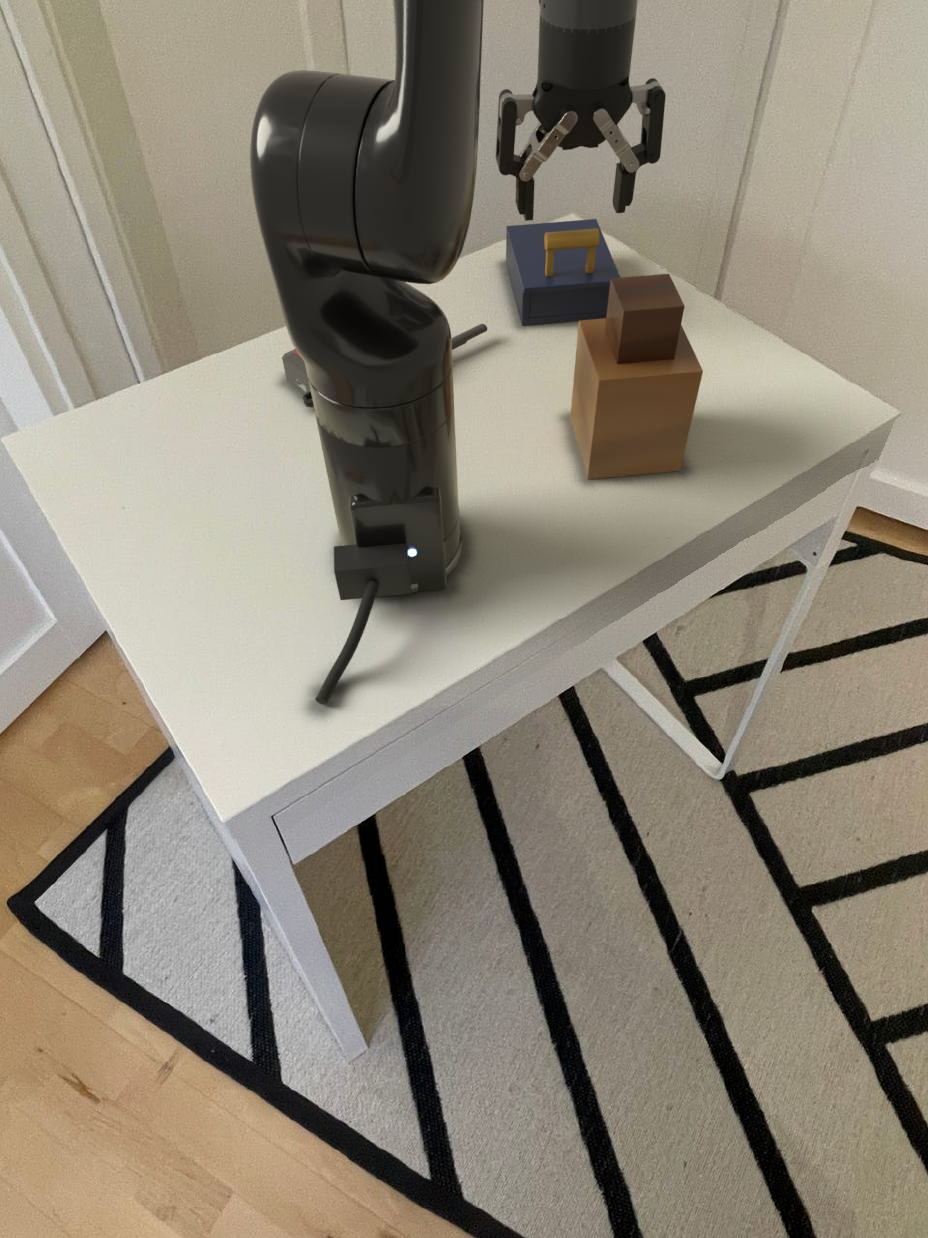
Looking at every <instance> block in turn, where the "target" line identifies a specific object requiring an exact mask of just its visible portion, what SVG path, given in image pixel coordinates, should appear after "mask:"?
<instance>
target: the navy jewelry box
mask: <svg viewBox="0 0 928 1238" xmlns="http://www.w3.org/2000/svg"><path fill="white" fill-rule="evenodd" d="M505 236H506V239H505V244H506V245H505V267H506V271H507V275H508V278H509V283H510V286H511V290H512V293H513V297H514V302H515V305H516V309H517V313H518V316H519V320H520V324H521V326H532V325H544V324H555V323H567V322H568V323H569V322H579V321H581V320H593V319H604V318H606V316H607V307H608V298H609V290H610V287H598V288H586V289H574V290H562V291H550V292H538V293H526V294H524V293H523V289H522V286H521V282H520V278H519V275H518V271H517V268H516V264H515V260H514V257H513V253H512V249H511V246H510V242H509V239H508V235H507V232H506V235H505Z"/></svg>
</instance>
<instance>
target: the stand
mask: <svg viewBox="0 0 928 1238" xmlns="http://www.w3.org/2000/svg"><path fill="white" fill-rule="evenodd" d="M605 324H606V318H603V319H591V320H579V321H578V326H577V335H576V336H577V339H576V349H575V360H574V370H573V371H574V373H573V383H572V393H571V405H570V418H569V421H570V425H571V427H572V431H573V434H574V438H575V441H576V445H577V448H578V451H579V455H580V458H581V462H582V465H583V468H584V472H585V476H586V479H587V480H595V479H605V478H606V479H607V478H617V477H627V476H628V477H629V476H638V475H647V474H659V473H669V472H680V471H681V470H682V465H683V461H684V457H685V453H686V452H685V451H686V447H687V443H688V439H689V434H690V431H691V426H692V421H693V416H694V412H695V409H696V404H697V400H698V395H699V390H700V386H701V382H702V377H703V373H704V370H703V367H702V366H701V364H700V361H699V359H698V357H697V355H696V353H695V351H694V349H693V347H692V344H691V342H690V340H689V338H688V336H687V333H686V332H685V329H684V327H683V324H681V328H680V333H679V338H678V343H677V348H676V354H675V359H668V360H657V361H645V362H634V363H623V364H617V362H616V360H615V357H614V354H613V352H612V349H611V346H610V343H609V341H608V338H607V335H606V333H605Z"/></svg>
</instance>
